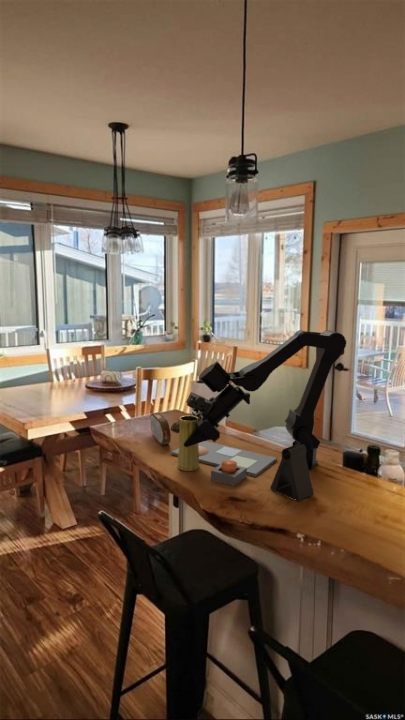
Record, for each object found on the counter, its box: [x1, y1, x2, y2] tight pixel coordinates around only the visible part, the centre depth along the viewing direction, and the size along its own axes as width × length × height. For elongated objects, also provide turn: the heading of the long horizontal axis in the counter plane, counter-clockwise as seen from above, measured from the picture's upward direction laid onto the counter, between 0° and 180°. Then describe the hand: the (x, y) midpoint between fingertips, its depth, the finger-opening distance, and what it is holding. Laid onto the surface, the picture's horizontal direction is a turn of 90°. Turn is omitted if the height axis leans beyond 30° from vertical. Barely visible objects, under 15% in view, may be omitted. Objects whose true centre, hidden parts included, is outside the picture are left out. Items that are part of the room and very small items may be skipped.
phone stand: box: [269, 444, 315, 502], centre depth 118 cm, size 9×6×12 cm, turn 41°
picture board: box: [170, 440, 278, 477], centre depth 140 cm, size 28×14×1 cm, turn 58°
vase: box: [177, 414, 200, 472], centre depth 131 cm, size 6×6×14 cm
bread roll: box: [170, 413, 192, 432], centre depth 167 cm, size 13×12×5 cm
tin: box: [149, 411, 172, 445], centre depth 153 cm, size 15×3×8 cm, turn 22°
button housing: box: [210, 464, 247, 487], centre depth 126 cm, size 7×7×2 cm
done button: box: [222, 460, 237, 473], centre depth 125 cm, size 4×4×2 cm
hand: (183, 442), depth 131 cm, fingers closed on vase, 5 cm apart
